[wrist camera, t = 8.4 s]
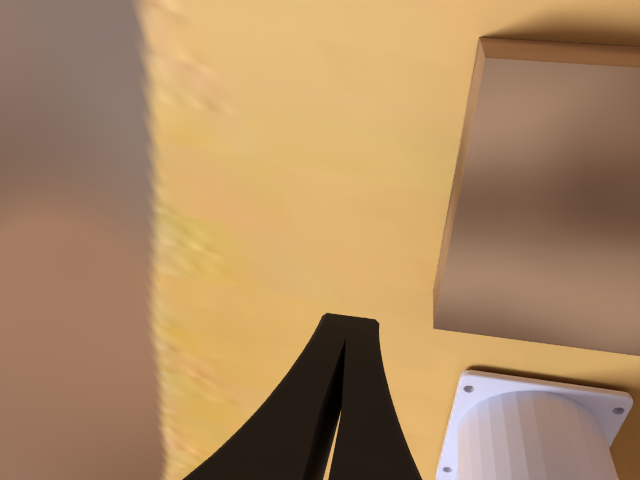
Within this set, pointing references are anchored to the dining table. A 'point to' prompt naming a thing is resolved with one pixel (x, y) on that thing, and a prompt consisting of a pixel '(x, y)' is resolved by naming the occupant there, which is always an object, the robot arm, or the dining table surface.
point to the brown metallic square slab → (546, 198)
